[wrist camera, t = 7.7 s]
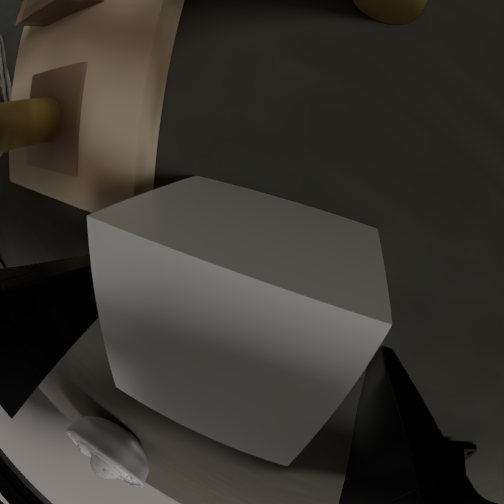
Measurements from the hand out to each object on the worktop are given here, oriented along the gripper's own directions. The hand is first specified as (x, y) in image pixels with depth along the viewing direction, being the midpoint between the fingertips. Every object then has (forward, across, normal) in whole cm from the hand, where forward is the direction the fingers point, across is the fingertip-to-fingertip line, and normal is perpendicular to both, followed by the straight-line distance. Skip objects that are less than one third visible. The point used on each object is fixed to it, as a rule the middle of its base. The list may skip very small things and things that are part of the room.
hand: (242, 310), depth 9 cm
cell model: (+2, +11, +26) cm, 28 cm away
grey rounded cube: (+2, 0, 0) cm, 2 cm away
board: (+2, +11, -9) cm, 14 cm away
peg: (+2, -2, -11) cm, 11 cm away
